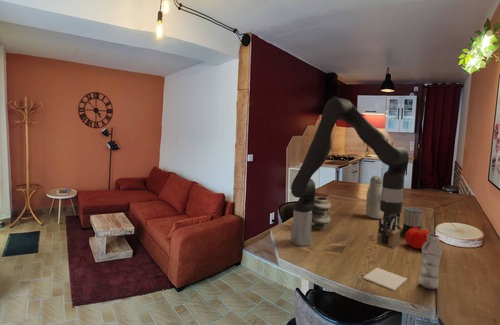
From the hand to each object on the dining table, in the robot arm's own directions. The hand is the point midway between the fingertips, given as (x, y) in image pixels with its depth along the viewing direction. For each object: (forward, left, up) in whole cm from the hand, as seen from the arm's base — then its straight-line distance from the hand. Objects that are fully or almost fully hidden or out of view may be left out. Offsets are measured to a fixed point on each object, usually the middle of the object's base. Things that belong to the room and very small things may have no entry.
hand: (388, 241), depth 114 cm
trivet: (0, 0, -15) cm, 15 cm away
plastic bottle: (+13, +7, -16) cm, 21 cm away
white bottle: (-39, +74, -16) cm, 85 cm away
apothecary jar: (-51, +30, -16) cm, 61 cm away
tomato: (-3, +45, -16) cm, 48 cm away
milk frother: (-15, +60, -16) cm, 64 cm away
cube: (0, 0, -1) cm, 1 cm away
